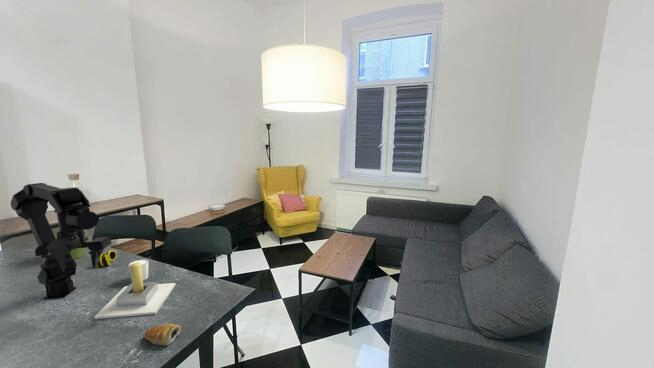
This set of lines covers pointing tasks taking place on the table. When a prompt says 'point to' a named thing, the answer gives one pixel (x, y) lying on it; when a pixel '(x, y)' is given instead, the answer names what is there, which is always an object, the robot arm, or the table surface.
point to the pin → (136, 278)
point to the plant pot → (77, 250)
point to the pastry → (162, 334)
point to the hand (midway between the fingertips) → (79, 269)
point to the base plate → (151, 308)
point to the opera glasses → (107, 258)
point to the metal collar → (137, 295)
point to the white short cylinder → (144, 267)
